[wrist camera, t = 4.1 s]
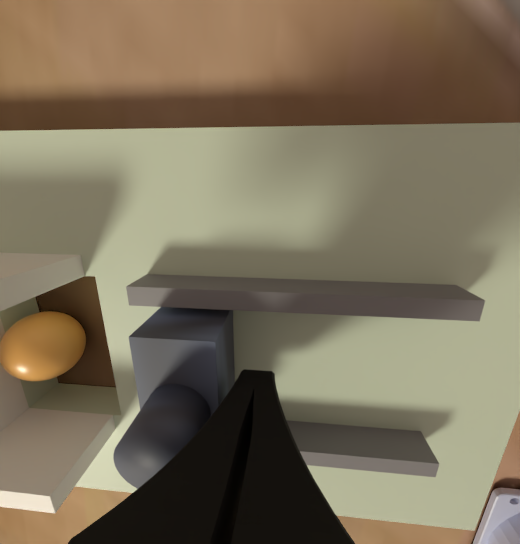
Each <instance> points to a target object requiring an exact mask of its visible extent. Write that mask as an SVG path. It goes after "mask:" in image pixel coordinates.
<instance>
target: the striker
mask: <svg viewBox="0 0 520 544" xmlns="http://www.w3.org/2000/svg"><path fill="white" fill-rule="evenodd" d="M129 343H130V349H131V356H132V362H133V368H134V374H135V380H136V387H137V393H138V399H139V405H140V411H139V413H138V414H137V416H136V417H135V419H134V420H133V422H132V423H131V425H130V426H129V428H128V429H127V431H126V432H125V434H124V435H123V437H122V438H121V440H120V441H119V443H118V444H117V446H116V448H115V450H114V454H113V459H114V464H115V467H116V469H117V471H118V472H119V474H120V475H121V476H122V477H123V478H124V479H125V480H126V481H127V482H128V483H129V484H131V485H132V486H134V487H136V488H137V489H138V488H139V487H141V486H142V485H143V484H144V483H145V482H147V481H148V480H149V479H150V478H151V477H153V476H154V475H155V474H156V473H157V472H158V471H159V470H160V469H161V468H163V467H164V466H165V465H166V464H167V463H168V462H169V461H170V460H171V459H172V458H173V457H174V456H175V455H176V454H177V453H178V452H179V451H180V450H181V449H182V448H183V447H184V446H185V445H186V444H187V443H188V442H189V441H190V440H191V439H192V438H193V437H194V436H195V434H196V433H197V432H198V431H199V430H200V429H201V428H202V427H203V425H204V424H205V423H206V422H207V420H208V419H209V418H210V417H211V415H212V414H213V413H214V412H215V410H216V409H217V408H218V407H219V405H220V404H221V402H222V401H223V400H224V398H225V397H226V395H227V394H228V393H229V391H230V389H231V388H232V386H233V385H234V383H235V368H234V331H233V310H218V309H196V308H174V307H160V308H159V309H158V310H157V311H156V312H155V313H154V314H153V315H152V316H151V317H150V318H149V319H147V320H146V321H145V322H144V323H143V324H142V325H141V326H140V327H139V328H138V329H137V330H135V331H134V332H133V333H132V334H131V335H130V336H129Z"/></svg>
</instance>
